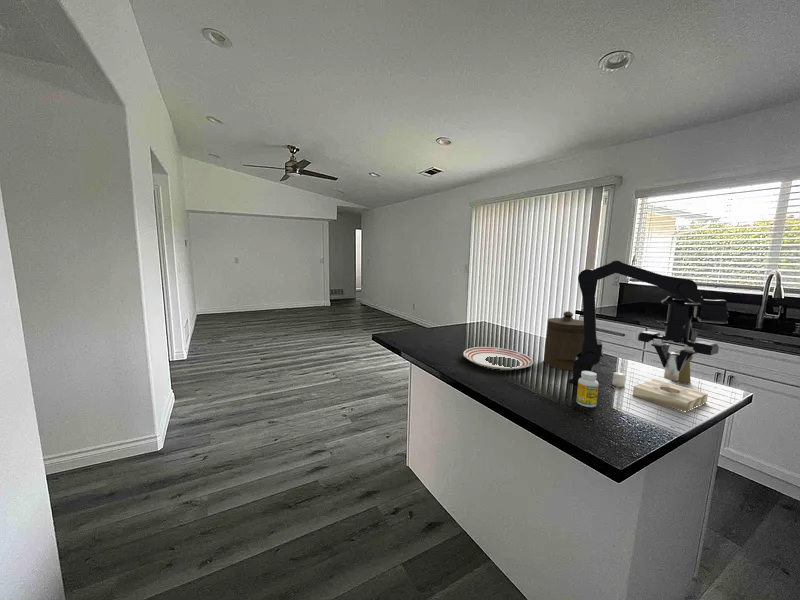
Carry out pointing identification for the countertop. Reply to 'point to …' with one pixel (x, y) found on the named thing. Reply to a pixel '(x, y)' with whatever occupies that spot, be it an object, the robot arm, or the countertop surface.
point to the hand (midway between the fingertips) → (672, 369)
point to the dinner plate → (481, 353)
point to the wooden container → (563, 341)
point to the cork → (684, 372)
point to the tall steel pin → (672, 366)
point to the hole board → (670, 394)
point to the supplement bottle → (587, 389)
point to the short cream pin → (618, 379)
